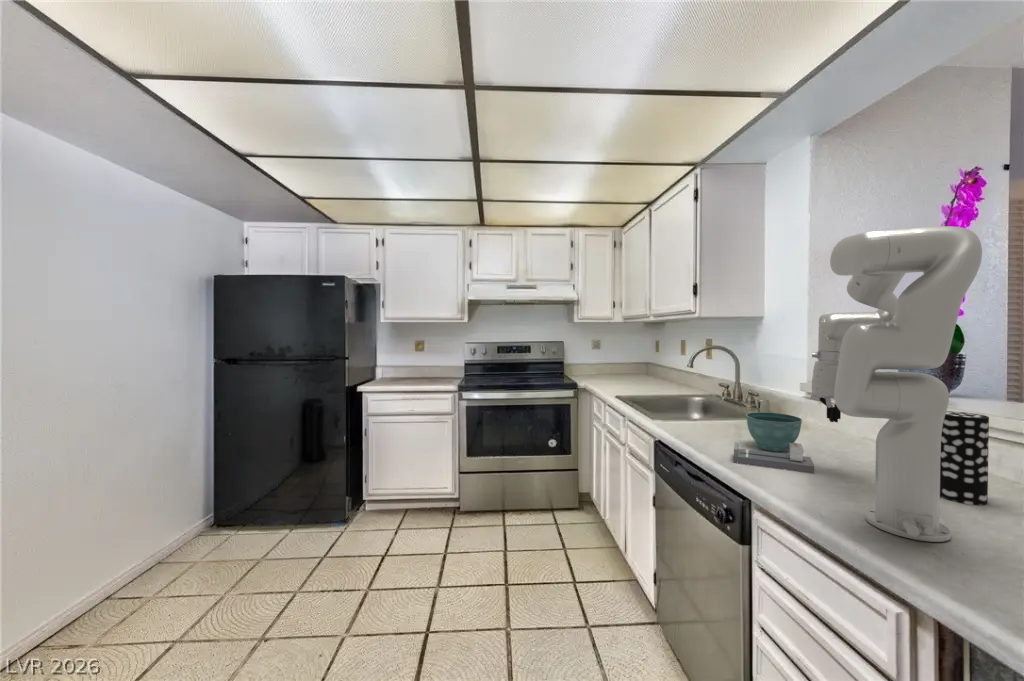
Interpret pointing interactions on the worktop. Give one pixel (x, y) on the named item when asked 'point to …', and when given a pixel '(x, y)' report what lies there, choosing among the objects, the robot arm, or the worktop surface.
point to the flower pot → (773, 430)
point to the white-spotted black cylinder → (964, 458)
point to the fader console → (772, 460)
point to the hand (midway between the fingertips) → (833, 421)
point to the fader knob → (796, 452)
